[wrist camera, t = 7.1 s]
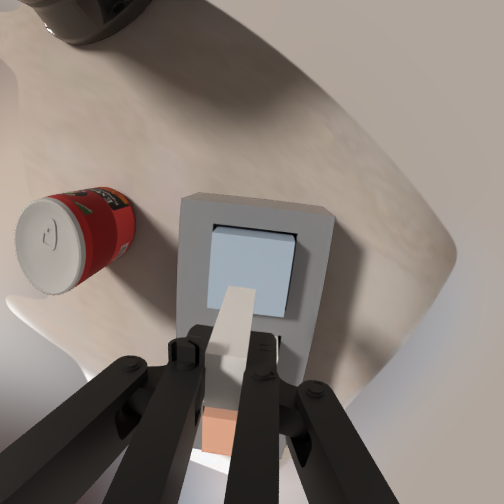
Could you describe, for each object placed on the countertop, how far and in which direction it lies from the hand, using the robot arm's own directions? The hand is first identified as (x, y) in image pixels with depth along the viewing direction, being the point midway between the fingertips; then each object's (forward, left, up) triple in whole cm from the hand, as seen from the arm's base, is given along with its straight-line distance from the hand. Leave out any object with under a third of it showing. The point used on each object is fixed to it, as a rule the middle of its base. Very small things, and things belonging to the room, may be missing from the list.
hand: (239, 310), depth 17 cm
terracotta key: (+18, 0, -12) cm, 22 cm away
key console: (+9, 0, -14) cm, 17 cm away
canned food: (-1, -16, -15) cm, 22 cm away
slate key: (0, 0, -12) cm, 12 cm away
